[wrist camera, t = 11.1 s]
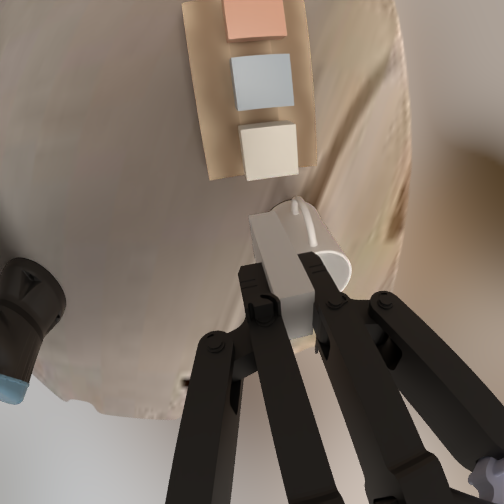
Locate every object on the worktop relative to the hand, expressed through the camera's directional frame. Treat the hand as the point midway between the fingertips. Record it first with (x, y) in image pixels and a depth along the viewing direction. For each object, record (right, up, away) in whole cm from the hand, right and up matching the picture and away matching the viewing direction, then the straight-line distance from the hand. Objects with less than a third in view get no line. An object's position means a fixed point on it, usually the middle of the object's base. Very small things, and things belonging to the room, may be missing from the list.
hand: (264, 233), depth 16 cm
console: (-1, +19, +11) cm, 22 cm away
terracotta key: (-1, +22, +5) cm, 23 cm away
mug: (+5, +4, +23) cm, 24 cm away
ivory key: (0, +12, +13) cm, 17 cm away
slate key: (-1, +17, +9) cm, 19 cm away
